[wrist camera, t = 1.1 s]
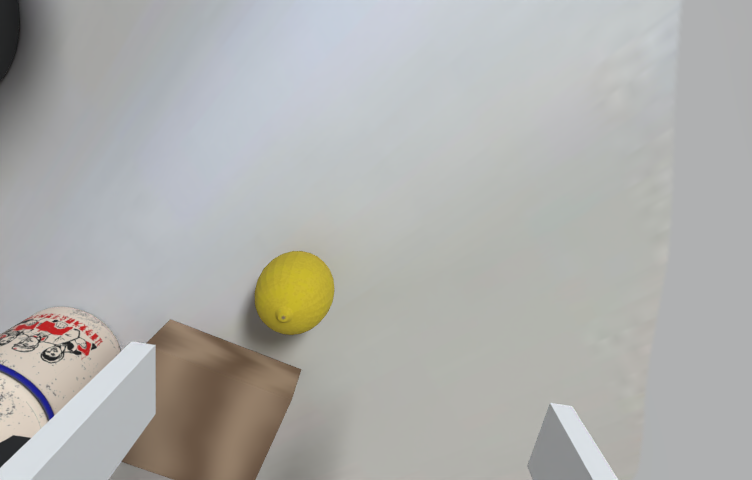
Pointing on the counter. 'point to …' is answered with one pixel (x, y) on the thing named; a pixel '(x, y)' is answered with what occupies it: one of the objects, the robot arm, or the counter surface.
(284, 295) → the lemon
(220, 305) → the counter surface
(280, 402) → the walnut plinth
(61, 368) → the teacup with lid
